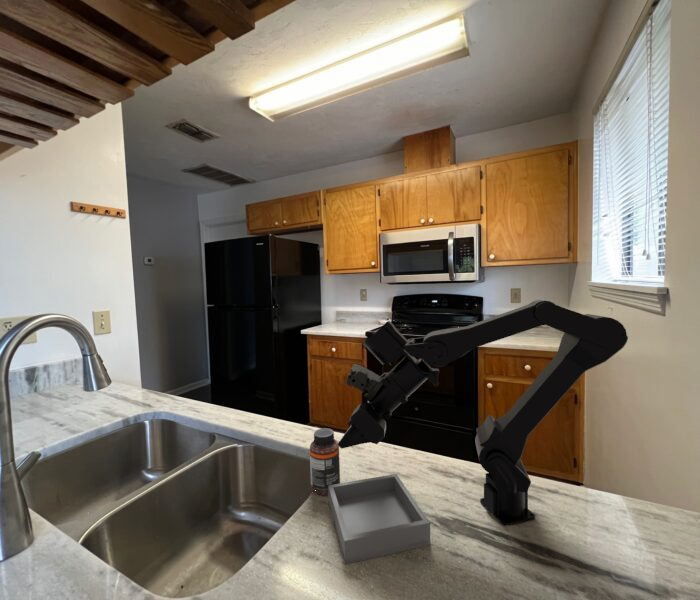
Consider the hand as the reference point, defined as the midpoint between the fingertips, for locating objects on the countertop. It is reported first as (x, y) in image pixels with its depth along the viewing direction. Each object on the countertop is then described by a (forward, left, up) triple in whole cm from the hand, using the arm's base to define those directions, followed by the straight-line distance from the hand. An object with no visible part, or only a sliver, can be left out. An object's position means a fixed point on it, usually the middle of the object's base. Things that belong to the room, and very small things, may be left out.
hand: (344, 435), depth 63 cm
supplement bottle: (+4, -2, -11) cm, 12 cm away
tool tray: (-3, +10, -11) cm, 15 cm away
